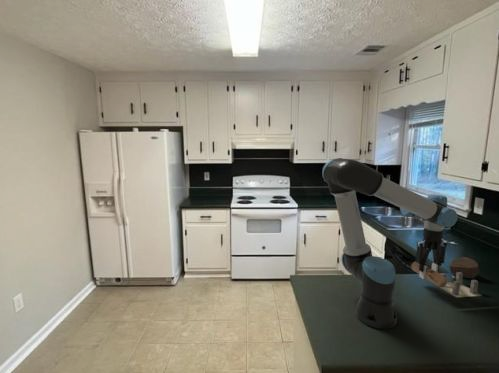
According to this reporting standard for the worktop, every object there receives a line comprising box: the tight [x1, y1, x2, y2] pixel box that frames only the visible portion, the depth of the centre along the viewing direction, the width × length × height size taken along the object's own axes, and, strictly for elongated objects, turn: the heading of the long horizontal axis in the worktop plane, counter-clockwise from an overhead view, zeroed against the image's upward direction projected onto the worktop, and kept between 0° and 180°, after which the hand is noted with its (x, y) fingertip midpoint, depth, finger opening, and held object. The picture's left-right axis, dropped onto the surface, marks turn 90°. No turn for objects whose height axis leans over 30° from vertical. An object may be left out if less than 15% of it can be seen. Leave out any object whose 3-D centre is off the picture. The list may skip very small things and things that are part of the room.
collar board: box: [439, 272, 483, 298], centre depth 131 cm, size 13×13×7 cm
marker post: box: [449, 275, 456, 284], centre depth 137 cm, size 2×2×3 cm
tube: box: [410, 261, 448, 288], centre depth 127 cm, size 16×5×5 cm, turn 7°
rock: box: [449, 256, 480, 280], centre depth 144 cm, size 12×10×10 cm
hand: (427, 277), depth 128 cm, fingers closed on tube, 5 cm apart
